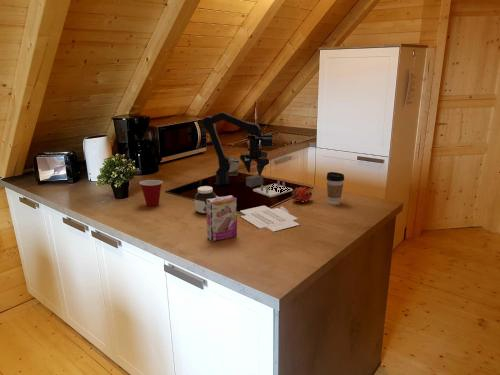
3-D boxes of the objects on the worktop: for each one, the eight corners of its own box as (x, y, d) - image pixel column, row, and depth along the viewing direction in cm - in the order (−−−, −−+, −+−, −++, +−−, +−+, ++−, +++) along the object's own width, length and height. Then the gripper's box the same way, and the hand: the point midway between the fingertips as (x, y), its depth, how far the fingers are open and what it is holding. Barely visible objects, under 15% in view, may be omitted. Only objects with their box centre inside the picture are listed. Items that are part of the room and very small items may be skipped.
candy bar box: (212, 242, 153) (210, 202, 148) (207, 238, 158) (205, 199, 153) (237, 236, 158) (237, 198, 153) (232, 232, 163) (231, 194, 158)
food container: (240, 173, 249) (240, 157, 246) (239, 175, 244) (239, 159, 240) (221, 172, 251) (221, 157, 248) (219, 175, 245) (219, 159, 242)
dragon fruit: (289, 206, 196) (309, 205, 201) (298, 200, 189) (318, 200, 194) (286, 190, 198) (305, 190, 204) (295, 184, 191) (315, 184, 197)
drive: (251, 187, 221) (251, 179, 219) (246, 185, 224) (246, 177, 222) (263, 184, 227) (263, 175, 225) (257, 182, 230) (257, 174, 228)
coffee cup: (326, 199, 200) (327, 170, 196) (343, 201, 198) (345, 172, 193) (324, 205, 193) (325, 175, 188) (341, 206, 190) (343, 176, 186)
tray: (270, 197, 204) (271, 189, 203) (253, 190, 214) (253, 183, 213) (292, 190, 214) (292, 183, 213) (274, 185, 224) (274, 178, 223)
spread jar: (193, 214, 182) (192, 190, 178) (199, 206, 193) (198, 183, 189) (219, 215, 180) (218, 191, 177) (224, 207, 191) (223, 184, 187)
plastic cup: (168, 202, 198) (166, 179, 194) (157, 209, 188) (155, 185, 185) (149, 200, 201) (147, 177, 198) (137, 207, 191) (134, 183, 188)
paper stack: (267, 235, 161) (267, 226, 160) (233, 216, 184) (233, 208, 183) (306, 224, 171) (306, 216, 170) (270, 207, 194) (270, 200, 193)
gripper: (276, 147, 217) (276, 174, 222) (254, 142, 230) (254, 168, 235) (261, 150, 210) (261, 178, 215) (239, 144, 224) (239, 171, 228)
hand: (254, 174), depth 223 cm, fingers open, 9 cm apart
